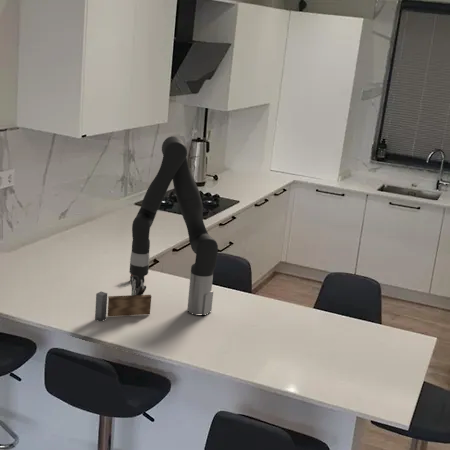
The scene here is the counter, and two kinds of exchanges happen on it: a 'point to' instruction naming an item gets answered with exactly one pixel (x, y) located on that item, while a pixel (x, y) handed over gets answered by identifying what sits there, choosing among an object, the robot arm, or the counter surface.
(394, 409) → the counter surface
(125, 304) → the gate
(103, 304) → the hinge post
